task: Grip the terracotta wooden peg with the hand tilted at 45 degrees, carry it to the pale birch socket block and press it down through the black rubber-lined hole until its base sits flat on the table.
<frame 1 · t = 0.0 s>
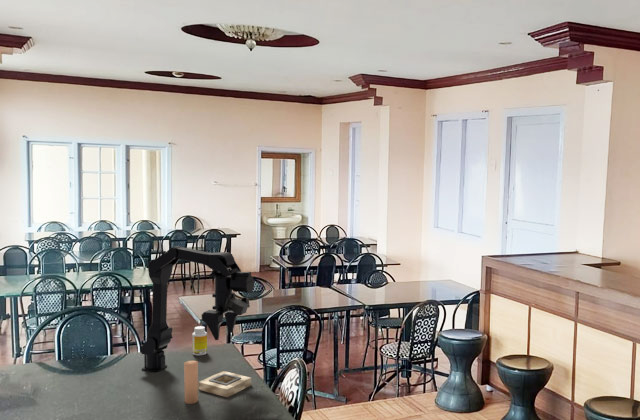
hand: (223, 336, 194), 15 cm above the table, tool pointing down, fingers open, 9 cm apart
peg: (191, 401, 176), on the table
supplement bottle: (199, 354, 221), on the table
socket block: (225, 387, 187), on the table
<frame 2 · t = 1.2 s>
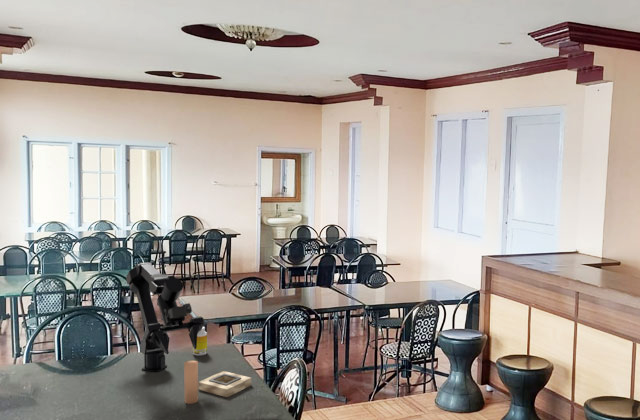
hand: (181, 351, 182), 13 cm above the table, tool tilted 45°, fingers open, 9 cm apart
nothing on the table moved.
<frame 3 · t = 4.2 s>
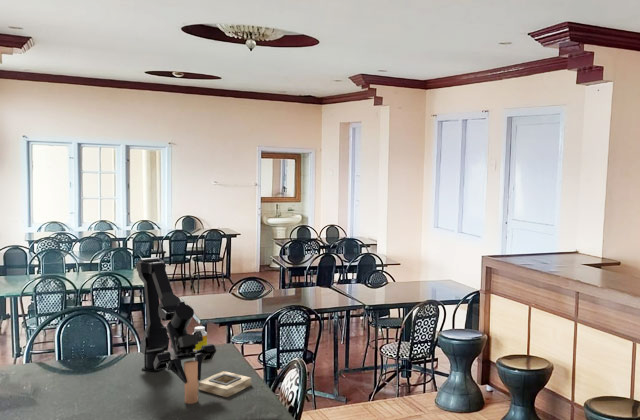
hand: (192, 381, 174), 7 cm above the table, tool tilted 45°, fingers closed on peg, 4 cm apart
peg: (191, 401, 176), on the table, touching gripper
everything else where it was.
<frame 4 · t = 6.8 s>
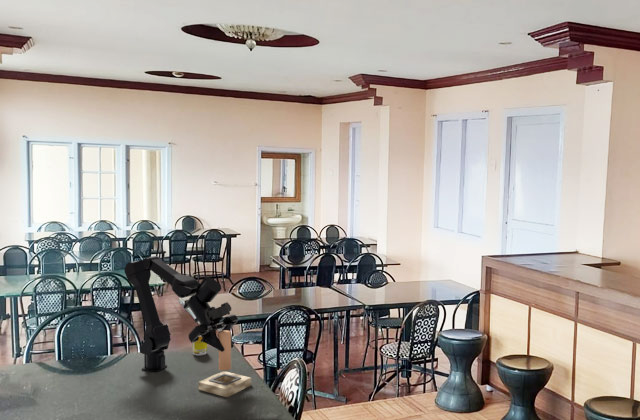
hand: (227, 349, 185), 13 cm above the table, tool tilted 45°, fingers closed on peg, 4 cm apart
peg: (224, 368, 187), point 6 cm above the table, touching gripper
everything else where it was.
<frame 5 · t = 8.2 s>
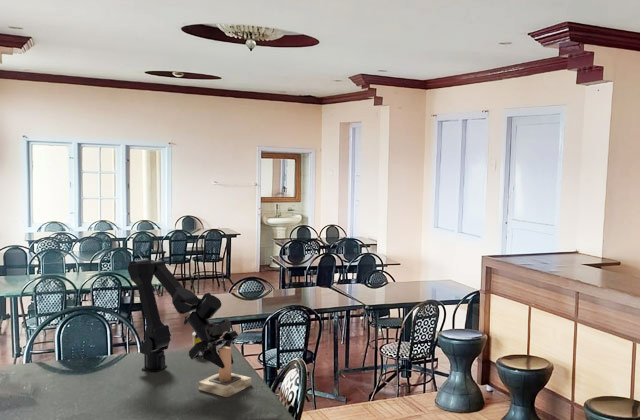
hand: (228, 365, 186), 7 cm above the table, tool tilted 45°, fingers closed on peg, 4 cm apart
peg: (225, 384, 187), point 1 cm above the table, touching gripper
everything else where it was.
when the fingers open (7 cm above the table, at t = 9.3 s): peg stays where it is, resting in socket block.
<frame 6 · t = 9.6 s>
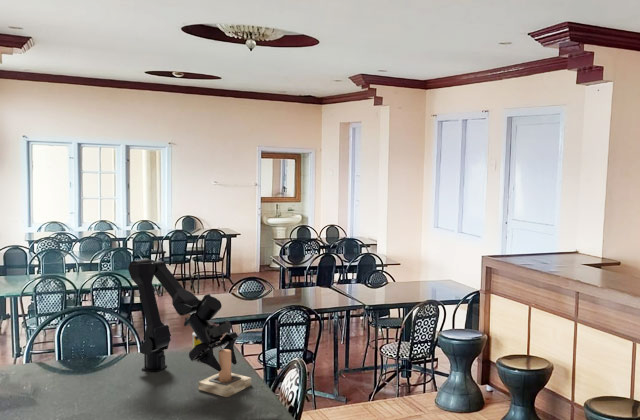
hand: (228, 367, 186), 7 cm above the table, tool tilted 45°, fingers open, 7 cm apart
peg: (225, 387, 187), resting in socket block
everything else where it was.
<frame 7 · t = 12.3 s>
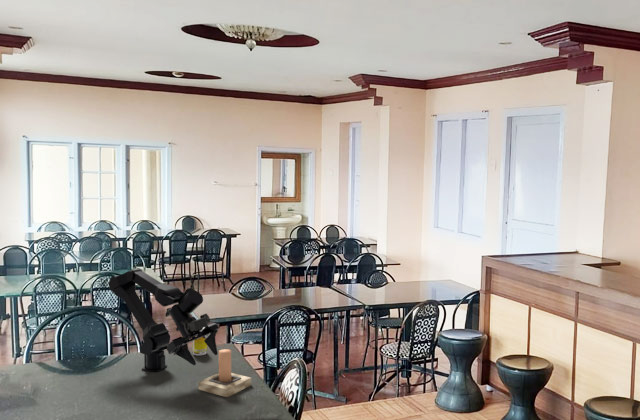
hand: (206, 359, 191), 8 cm above the table, tool tilted 40°, fingers open, 9 cm apart
nothing on the table moved.
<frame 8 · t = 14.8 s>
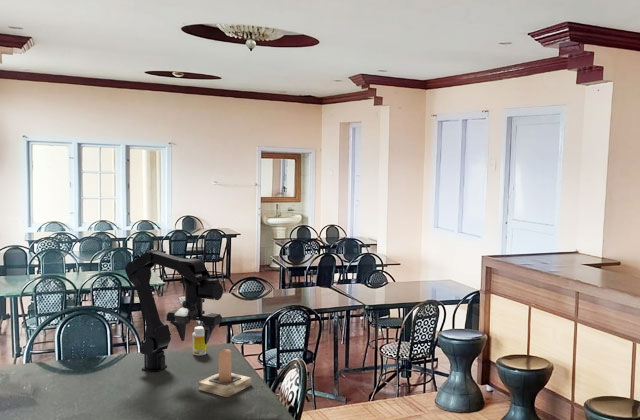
hand: (194, 342, 196), 12 cm above the table, tool pointing down, fingers open, 9 cm apart
nothing on the table moved.
at the end: peg 0.0 cm off-centre on the socket block, point 0.0 cm above the socket block's base; peg tilted 0°; the gripper is holding nothing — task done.
